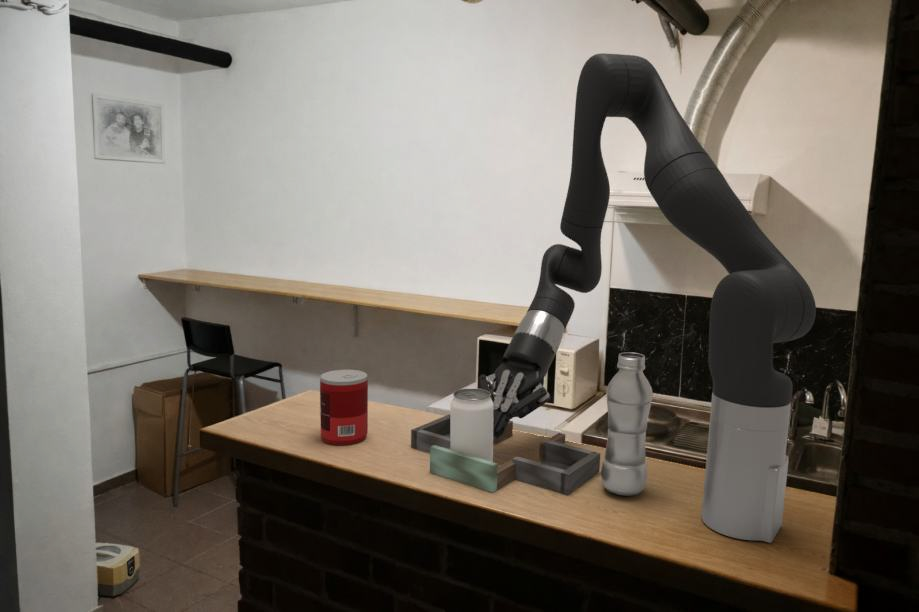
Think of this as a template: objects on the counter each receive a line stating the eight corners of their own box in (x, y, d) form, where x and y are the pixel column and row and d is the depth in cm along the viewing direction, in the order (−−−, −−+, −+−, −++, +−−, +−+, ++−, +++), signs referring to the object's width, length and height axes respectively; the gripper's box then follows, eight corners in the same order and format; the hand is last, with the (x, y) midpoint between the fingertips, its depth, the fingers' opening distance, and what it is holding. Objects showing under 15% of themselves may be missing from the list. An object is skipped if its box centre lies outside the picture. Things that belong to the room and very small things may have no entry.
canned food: (376, 435, 120) (377, 373, 118) (345, 449, 113) (345, 384, 112) (343, 426, 124) (342, 366, 122) (311, 439, 117) (310, 376, 116)
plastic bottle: (595, 496, 98) (604, 358, 95) (604, 478, 104) (612, 348, 101) (642, 504, 96) (652, 363, 92) (648, 486, 102) (658, 352, 99)
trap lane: (613, 461, 111) (615, 437, 110) (547, 510, 94) (548, 481, 93) (466, 422, 128) (466, 401, 127) (386, 458, 110) (386, 433, 110)
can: (466, 481, 102) (466, 403, 100) (442, 466, 107) (441, 392, 105) (501, 471, 106) (502, 395, 103) (476, 457, 111) (476, 384, 109)
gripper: (492, 325, 116) (447, 414, 109) (563, 337, 109) (519, 433, 101) (508, 350, 122) (466, 437, 114) (577, 363, 114) (536, 457, 106)
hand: (491, 435), depth 108 cm, fingers closed
